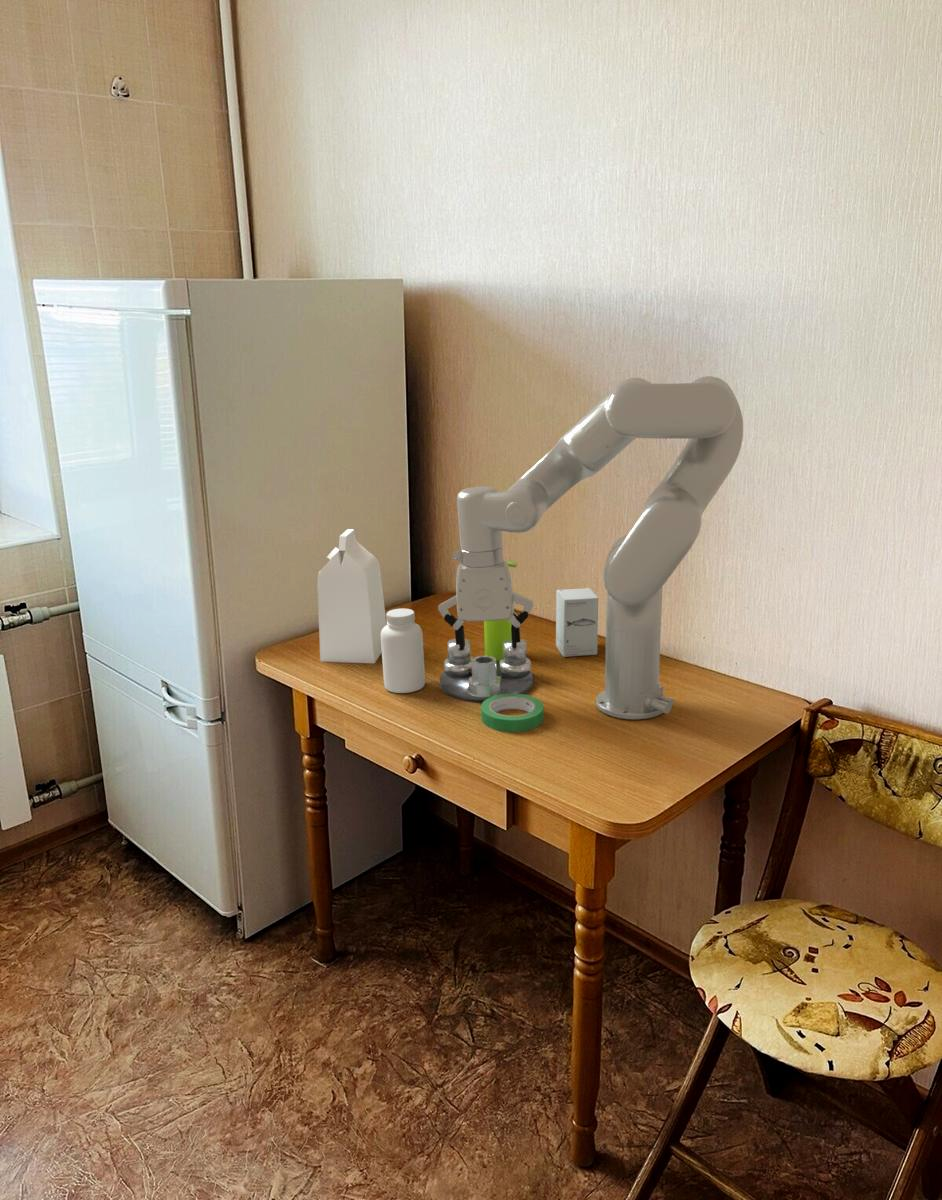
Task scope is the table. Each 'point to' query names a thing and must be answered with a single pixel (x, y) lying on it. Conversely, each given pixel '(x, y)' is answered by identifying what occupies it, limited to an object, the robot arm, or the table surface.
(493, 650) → the soap dispenser
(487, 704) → the tape roll
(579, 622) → the supplement box
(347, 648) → the milk
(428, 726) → the table surface
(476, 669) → the octagonal collar pipe
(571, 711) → the table surface
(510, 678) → the carrier
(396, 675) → the pill bottle
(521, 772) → the table surface
